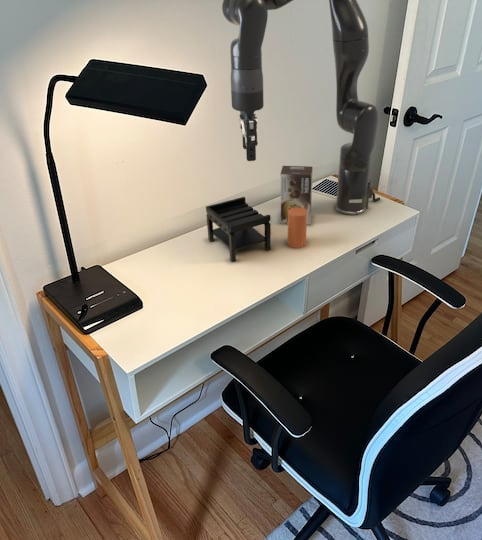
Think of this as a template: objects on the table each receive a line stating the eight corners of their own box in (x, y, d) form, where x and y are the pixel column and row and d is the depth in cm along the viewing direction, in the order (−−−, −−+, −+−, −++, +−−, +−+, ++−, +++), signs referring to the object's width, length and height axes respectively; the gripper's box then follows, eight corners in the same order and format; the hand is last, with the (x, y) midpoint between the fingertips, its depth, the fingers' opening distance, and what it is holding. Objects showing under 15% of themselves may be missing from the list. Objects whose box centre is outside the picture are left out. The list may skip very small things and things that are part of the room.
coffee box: (311, 215, 158) (313, 166, 149) (310, 225, 152) (312, 174, 144) (281, 214, 158) (282, 164, 150) (279, 223, 153) (280, 173, 144)
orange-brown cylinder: (298, 237, 146) (299, 205, 141) (309, 245, 143) (311, 212, 137) (283, 242, 144) (284, 210, 139) (294, 250, 140) (295, 217, 135)
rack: (245, 229, 150) (244, 196, 144) (270, 249, 140) (270, 215, 135) (207, 240, 144) (204, 206, 139) (231, 262, 135) (229, 227, 129)
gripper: (267, 94, 114) (268, 164, 123) (259, 79, 125) (260, 144, 134) (233, 95, 113) (237, 165, 121) (228, 80, 124) (231, 145, 133)
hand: (249, 154), depth 128 cm, fingers open, 8 cm apart
